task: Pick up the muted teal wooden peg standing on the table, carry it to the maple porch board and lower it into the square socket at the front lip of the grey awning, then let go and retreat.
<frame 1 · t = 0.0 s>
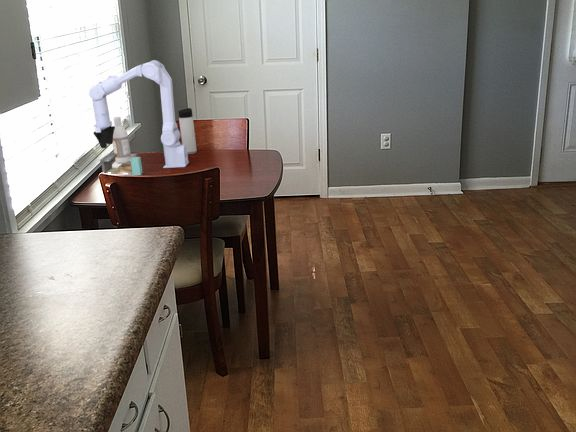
hand: (107, 145, 275), 10 cm above the table, tool pointing down, fingers open, 7 cm apart
travel mug: (190, 153, 298), on the table
peg: (137, 174, 266), on the table
bath foam: (123, 162, 290), on the table
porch: (121, 172, 271), on the table
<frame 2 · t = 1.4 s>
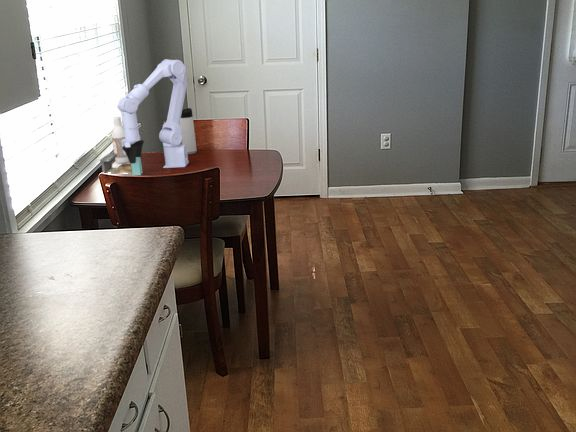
hand: (135, 160, 264), 6 cm above the table, tool pointing down, fingers open, 7 cm apart
nothing on the table moved.
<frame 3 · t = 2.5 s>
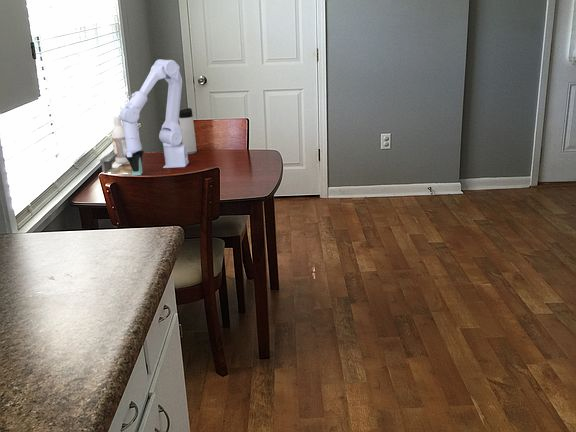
hand: (137, 170, 265), 2 cm above the table, tool pointing down, fingers closed on peg, 3 cm apart
peg: (137, 174, 266), on the table, touching gripper
everything else where it was.
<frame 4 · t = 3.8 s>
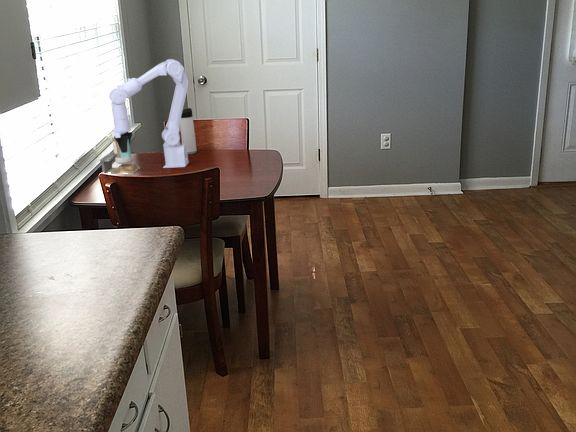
hand: (125, 151, 268), 9 cm above the table, tool pointing down, fingers closed on peg, 3 cm apart
peg: (126, 156, 268), point 7 cm above the table, touching gripper
everything else where it was.
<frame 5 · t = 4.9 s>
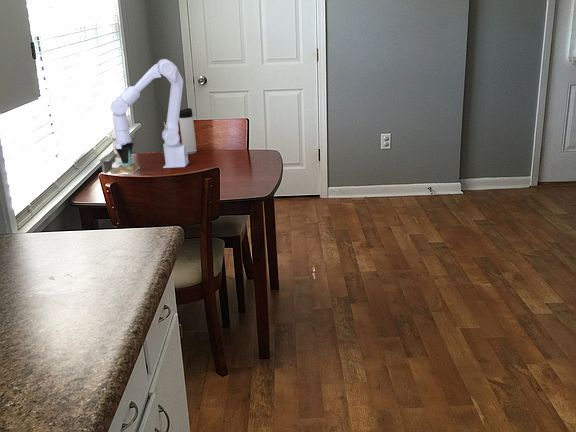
hand: (126, 162, 270), 4 cm above the table, tool pointing down, fingers closed on peg, 3 cm apart
peg: (127, 167, 270), point 2 cm above the table, touching gripper
everything else where it was.
when the fingers open (4 cm above the table, at t = 5.4 s): peg stays where it is, resting on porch.
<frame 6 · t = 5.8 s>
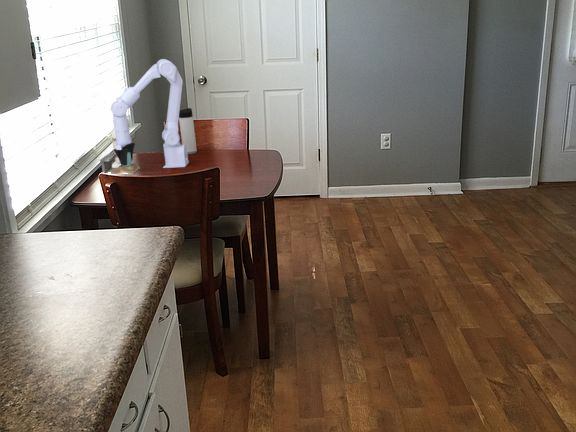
hand: (127, 163, 270), 4 cm above the table, tool pointing down, fingers open, 7 cm apart
peg: (127, 169, 271), point 1 cm above the table, touching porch
everything else where it was.
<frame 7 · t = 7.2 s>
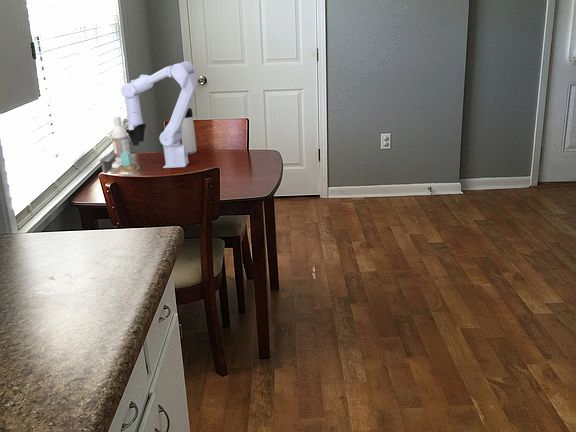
hand: (138, 143, 277), 10 cm above the table, tool pointing down, fingers open, 7 cm apart
nothing on the table moved.
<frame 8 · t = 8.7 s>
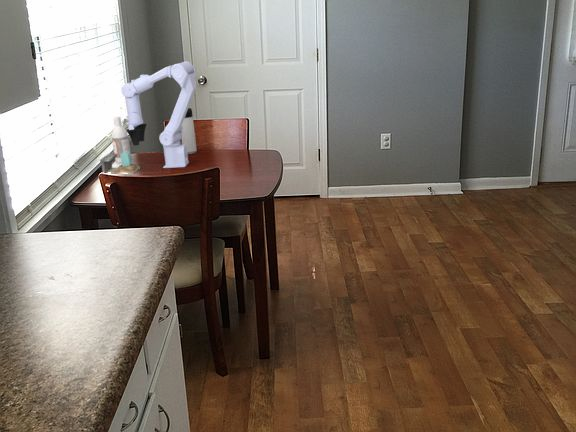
hand: (138, 143, 277), 10 cm above the table, tool pointing down, fingers open, 7 cm apart
nothing on the table moved.
at the end: peg 0.2 cm from the target spot on the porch, point 1.0 cm above the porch's base; peg tilted 0°; the gripper is holding nothing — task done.
